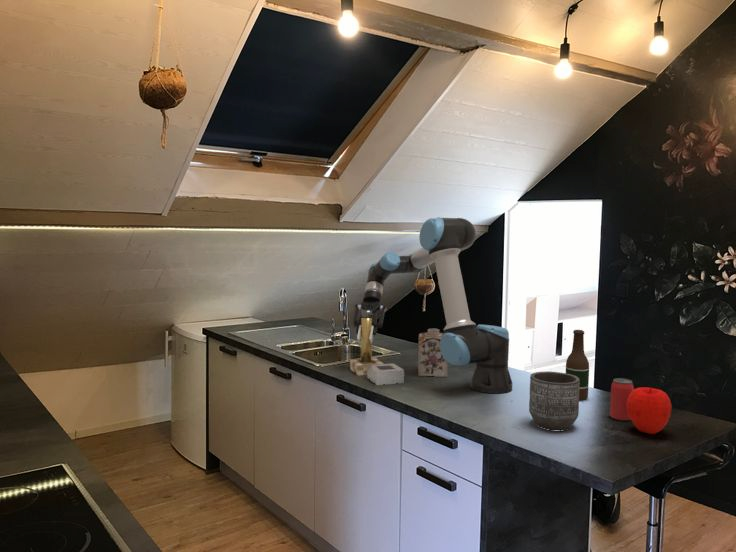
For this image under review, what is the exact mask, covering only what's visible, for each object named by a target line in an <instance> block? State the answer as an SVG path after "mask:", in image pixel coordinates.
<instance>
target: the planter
mask: <svg viewBox="0 0 736 552" xmlns="http://www.w3.org/2000/svg"><path fill="white" fill-rule="evenodd" d="M529 377H530V378H529V380H530V381H529V400H528V401H529V403H528V411H529V414H530V415H531V418H532V419H533V421H534V423H535V424H537V425H538V426H539V427H538V426H537V425H536V426H537V427H538V428H540V427H542V428H545V429H549V430H548V431H550V430H560V431H559V432H562V431H561V430H565V431H568V430H570V429H569V428H571V427H573V425H574V423H575V422H576V420H577V419H578V417H579V413H580V409H579V408H580V401H579V384H580V379H579V378H578V377H577V376H575V375H571V374H566V372H558V371H536V372H533V373H531V374H530V376H529ZM542 428H541V429H542ZM545 429H544V430H545ZM567 429H568V430H567Z"/></svg>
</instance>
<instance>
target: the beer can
mask: <svg viewBox="0 0 736 552" xmlns="http://www.w3.org/2000/svg"><path fill="white" fill-rule="evenodd" d="M612 380H613V381H612V383H611V386H610V402H609V404H610V405H609V416H610V418H612V419H614V420H617V421H624V422H625V421H626V422H627V421H631V419H630V417H629V414H628V411H627V406H626V404H627V399H628V396H629V394H630V393H631V392H632V390H634V389H635V387H634V383H633V380H631V379H628V378H623V377H622V378H620V377H619V378H618V377H617V378H614V379H612Z"/></svg>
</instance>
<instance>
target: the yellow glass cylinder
mask: <svg viewBox="0 0 736 552" xmlns="http://www.w3.org/2000/svg"><path fill="white" fill-rule="evenodd" d="M360 312H361V313H360V317H361V339H360V345H361V347H360V359H361V361H362V362H371V361H372V358H373V356H372V355H373V351H372V350H373V342H372V343H370V339H369V338H370V333H371V327H372V326H373V314H372V310H371V309H362V308H361V309H360Z"/></svg>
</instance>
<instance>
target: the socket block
mask: <svg viewBox="0 0 736 552" xmlns="http://www.w3.org/2000/svg"><path fill="white" fill-rule="evenodd" d="M366 376H367V379H368V380H369V379H370V380H369V381H371V382H372V384H374V383H375V384H374V385H376V386H383V384H385V385H396V383H398V384H404V383H405V369H403V368H402V367H400V366H399V365H397V364H396V363H384V364H379V365H367V375H366Z"/></svg>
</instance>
